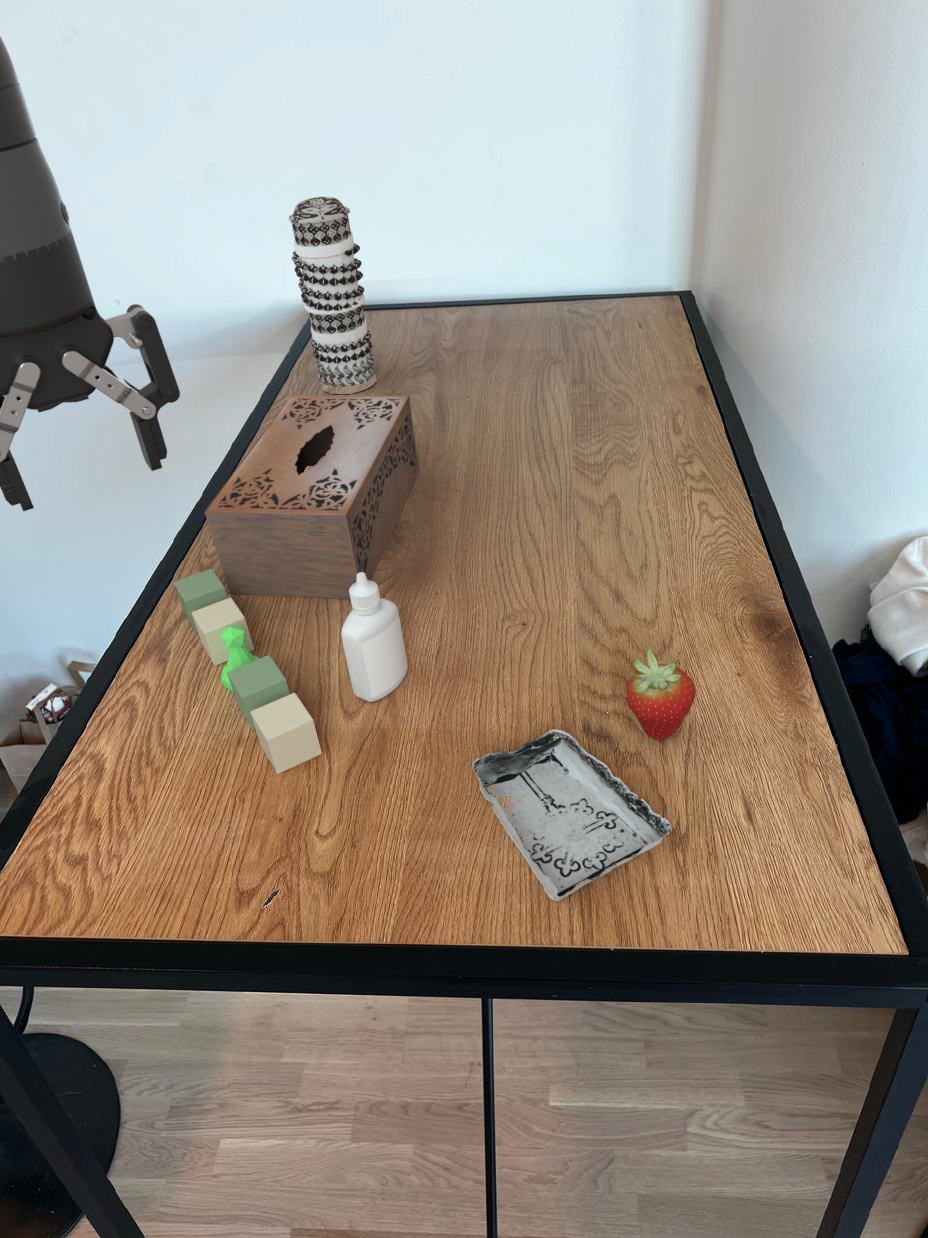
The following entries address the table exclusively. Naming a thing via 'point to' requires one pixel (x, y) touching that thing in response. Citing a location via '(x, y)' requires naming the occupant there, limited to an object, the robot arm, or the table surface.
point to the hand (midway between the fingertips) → (91, 485)
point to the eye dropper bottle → (373, 642)
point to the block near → (286, 732)
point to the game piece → (235, 651)
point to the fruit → (660, 696)
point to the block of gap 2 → (257, 685)
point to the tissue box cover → (316, 496)
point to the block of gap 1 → (219, 628)
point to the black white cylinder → (332, 291)
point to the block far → (199, 592)
